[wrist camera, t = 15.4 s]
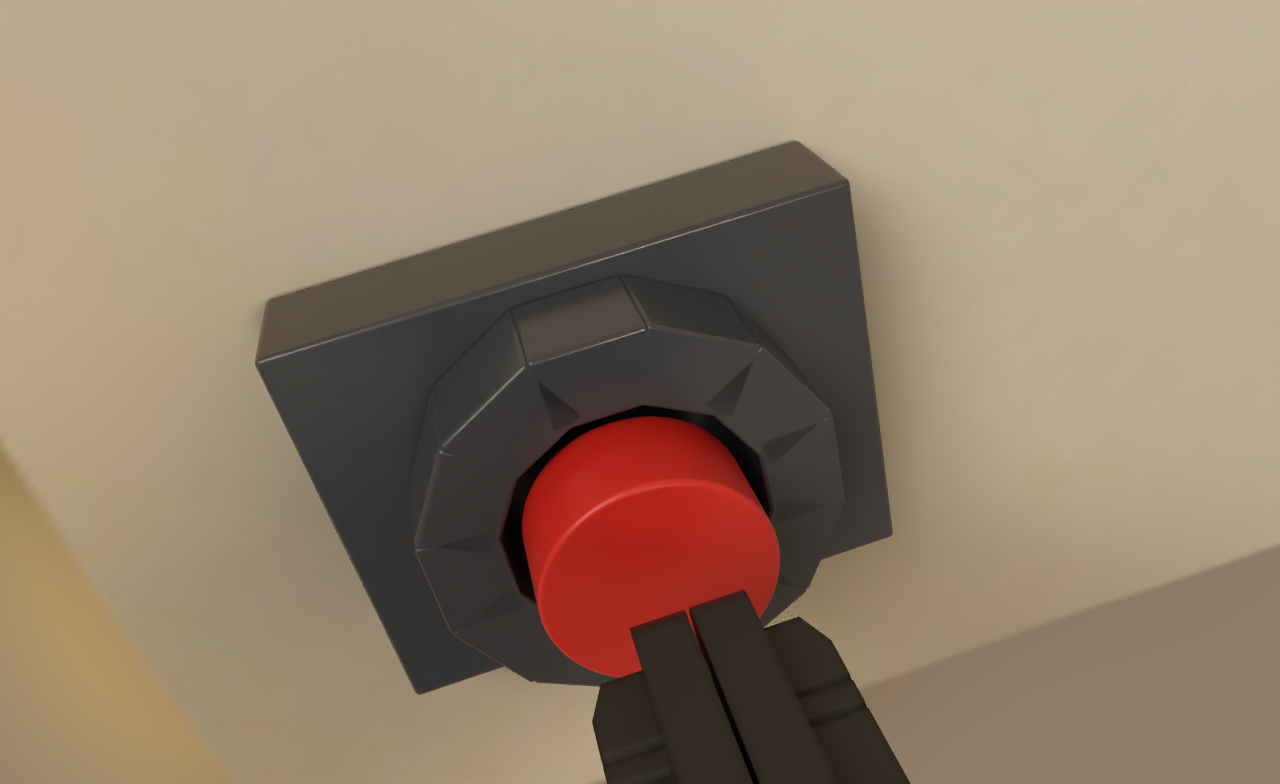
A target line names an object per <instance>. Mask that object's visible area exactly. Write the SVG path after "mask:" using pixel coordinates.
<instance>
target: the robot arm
mask: <svg viewBox="0 0 1280 784" xmlns="http://www.w3.org/2000/svg"><path fill="white" fill-rule="evenodd" d="M689 613H690V617H691V621H692V625H693V629H694V632H695V634H694V632H693V629H692V627H691V624H690V621H689V619H688V616H687V614H686V612H685V610H682V611H679V612H676V613H673V614H670V615H667V616H664V617H661V618H658V619H655V620H652V621H649V622H646V623H643V624H640V625H637V626H634V627H631V628H629V629H630V633H631V636H632V639H633V642H634V645H635V649H636V652H637V655H638V658H639V661H640V664H641V668H642V670H641V671H638V672H635V673H632V674H629V675H626V676H623V677H620V678H617V679H614V680H611V681H608V682H605V683H602V684H601V686H600V690H599V695H598V699H597V703H596V708H595V712H594V716H593V721H592V723H593V728H594V732H595V736H596V740H597V744H598V748H599V752H600V756H601V760H602V763H603V769H604V773H605V777H606V781H607V784H910V782H909V780H908V779H907V777H906V775H905V773H904V771H903V769H902V768H901V766H900V764H899V762H898V761H897V759H896V757H895V755H894V753H893V751H892V750H891V748H890V746H889V744H888V742H887V740H886V739H885V737H884V735H883V734H882V732H881V730H880V728H879V726H878V724H877V723H876V721H875V719H874V717H873V715H872V713H871V712H870V710H869V708H867V706H866V704H865V701H864V699H863V697H862V695H861V693H860V692H859V690H858V688H857V686H856V684H855V683H854V681H853V680H852V679H851V677H850V673H849V672H848V670H847V668H846V666H845V664H844V663H843V661H842V659H841V657H840V655H839V654H838V652H837V650H836V648H835V646H834V645H833V643H832V641H831V640H830V639H829V638H827V637H826V636H825V635H823V634H822V633H821V632H819V631H818V630H816V629H815V628H814V627H812V626H811V625H810V624H808V623H807V622H806V621H804V620H803V619H802V618H800V617H797V618H794V619H791V620H788V621H785V622H782V623H779V624H776V625H773V626H770V627H767V628H764V627H763V625H762V623H761V621H760V619H759V617H758V615H757V613H756V611H755V609H754V607H753V605H752V602H751V600H750V598H749V596H748V595H747V593H746V591H745V590H744V589H743V590H740V591H737V592H734V593H731V594H729V595H726V596H723V597H720V598H717V599H714V600H711V601H708V602H705V603H702V604H699V605H696V606H693V607H690V608H689ZM695 636H696V637H695Z"/></svg>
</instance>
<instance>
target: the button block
mask: <svg viewBox="0 0 1280 784" xmlns="http://www.w3.org/2000/svg"><path fill="white" fill-rule="evenodd" d="M255 366H256V368H257V370H258V372H259V374H260V376H261V378H262V380H263V382H264V384H265V386H266V388H267V390H268V392H269V394H270V396H271V398H272V400H273V402H274V404H275V406H276V409H277V411H278V413H279V415H280V417H281V419H282V421H283V423H284V425H285V427H286V429H287V431H288V433H289V435H290V437H291V439H292V441H293V443H294V445H295V447H296V449H297V451H298V454H299V456H300V458H301V460H302V462H303V464H304V466H305V468H306V470H307V472H308V474H309V476H310V478H311V480H312V482H313V484H314V486H315V488H316V490H317V492H318V494H319V496H320V498H321V501H322V503H323V505H324V507H325V509H326V511H327V513H328V515H329V517H330V519H331V521H332V523H333V525H334V527H335V529H336V531H337V533H338V535H339V537H340V539H341V541H342V543H343V545H344V548H345V550H346V552H347V554H348V556H349V558H350V560H351V562H352V564H353V566H354V568H355V570H356V572H357V574H358V576H359V578H360V580H361V582H362V584H363V586H364V588H365V590H366V593H367V595H368V597H369V599H370V601H371V603H372V605H373V607H374V609H375V611H376V613H377V615H378V617H379V619H380V621H381V623H382V625H383V627H384V629H385V631H386V633H387V635H388V637H389V640H390V642H391V644H392V646H393V648H394V650H395V652H396V654H397V656H398V658H399V660H400V662H401V664H402V666H403V668H404V670H405V672H406V674H407V676H408V678H409V680H410V682H411V685H412V687H413V689H414V691H415V692H416V693H417V694H424V693H427V692H430V691H433V690H436V689H439V688H442V687H445V686H448V685H451V684H454V683H456V682H459V681H462V680H465V679H468V678H471V677H474V676H477V675H480V674H483V673H486V672H489V671H492V670H495V669H498V668H501V667H504V666H505V667H507V668H508V669H510V670H512V671H513V672H515V673H517V674H518V675H520V676H522V677H523V678H525V679H527V680H528V681H530V682H532V681H535V682H537V683H553V684H569V685H585V686H601V684H602V683H605V682H608V681H611V680H614V679H617V678H618V677H612V676H607V675H603V674H599V673H597V672H594V671H591V670H589V669H586V668H585V667H583V666H581V665H579V664H577V663H575V662H574V661H573V660H571V659H570V658H569V657H567V656H566V655H565V654H564V653H563V652H562V651H561V650H560V649H559V648H558V647H557V646H556V645H555V644H554V643H553V642H552V640H551V639H550V637H549V636H548V635H547V633H546V631H545V629H544V626H543V624H542V622H541V618H540V615H539V611H538V607H537V602H536V598H535V593H534V588H533V584H532V579H531V574H530V570H529V565H528V560H527V556H526V551H525V547H524V542H523V534H522V516H523V511H524V506H525V502H526V499H527V497H528V494H529V491H530V489H531V487H532V485H533V484H534V482H535V480H536V478H537V476H538V475H539V473H540V472H541V471H542V469H543V468H544V466H545V465H546V464H547V463H548V462H549V461H550V460H551V458H552V457H553V456H554V455H555V454H556V453H557V452H558V451H560V450H561V449H562V448H563V447H564V446H566V445H567V444H568V443H570V442H571V441H573V440H574V439H576V438H577V437H579V436H580V435H582V434H584V433H586V432H588V431H590V430H592V429H594V428H596V427H599V426H601V425H604V424H606V423H609V422H613V421H617V420H621V419H625V418H632V417H642V416H657V417H668V418H673V419H677V420H682V421H685V422H688V423H690V424H693V425H696V426H698V427H700V428H702V429H704V430H706V431H707V432H709V433H711V434H712V435H713V436H715V437H716V438H717V439H719V440H720V441H721V442H722V443H723V444H724V445H725V446H726V447H727V448H728V449H729V451H730V452H731V454H732V455H733V456H734V458H735V459H736V461H737V463H738V465H739V467H740V468H741V470H742V472H743V474H744V475H745V477H746V479H747V481H748V482H749V484H750V486H751V488H752V489H753V491H754V493H755V495H756V497H757V498H758V500H759V502H760V504H761V505H762V507H763V509H764V511H765V512H766V514H767V516H768V518H769V520H770V521H771V524H772V526H773V528H774V530H775V532H776V535H777V539H778V542H779V549H780V570H779V576H778V581H777V585H776V588H775V591H774V594H773V596H772V598H771V600H770V602H769V604H768V606H767V608H766V610H765V611H764V613H763V614H762V616H761V617H760V621H761V623H762V625H763V627H765V626H766V625H767V624H768V623H770V622H771V621H772V620H773V619H774V618H775V617H777V616H778V615H779V614H780V613H781V612H782V611H784V610H785V609H786V608H787V607H788V606H789V605H791V604H792V603H793V602H794V601H795V600H796V599H798V598H799V597H800V596H801V595H802V594H803V593H805V591H806V589H807V588H808V587H809V585H810V583H811V581H812V578H813V576H814V574H815V572H816V569H817V567H818V565H819V563H820V561H821V560H822V559H825V558H828V557H831V556H833V555H836V554H839V553H842V552H845V551H848V550H851V549H854V548H857V547H860V546H863V545H866V544H869V543H872V542H875V541H878V540H881V539H884V538H887V537H890V536H891V535H892V533H893V532H892V523H891V515H890V507H889V499H888V491H887V483H886V475H885V467H884V458H883V450H882V442H881V434H880V426H879V418H878V410H877V402H876V394H875V386H874V378H873V370H872V361H871V353H870V345H869V337H868V329H867V321H866V313H865V305H864V297H863V289H862V281H861V273H860V264H859V256H858V248H857V240H856V232H855V224H854V216H853V208H852V200H851V192H850V184H849V181H848V180H847V179H846V178H845V177H844V176H843V175H841V174H840V173H839V172H837V171H836V170H835V169H834V168H832V167H831V166H830V165H829V164H827V163H826V162H825V161H823V160H822V159H821V158H820V157H818V156H817V155H816V154H814V153H813V152H812V151H811V150H809V149H808V148H807V147H805V146H804V145H803V144H802V143H800V142H798V141H794V142H791V143H787V144H784V145H781V146H778V147H774V148H771V149H768V150H764V151H761V152H758V153H754V154H751V155H748V156H744V157H741V158H738V159H735V160H731V161H728V162H725V163H721V164H718V165H715V166H711V167H708V168H705V169H701V170H698V171H695V172H692V173H688V174H685V175H682V176H678V177H675V178H672V179H668V180H665V181H662V182H658V183H655V184H652V185H648V186H645V187H642V188H639V189H635V190H632V191H629V192H625V193H622V194H619V195H615V196H612V197H609V198H605V199H602V200H599V201H596V202H592V203H589V204H586V205H582V206H579V207H576V208H572V209H569V210H566V211H562V212H559V213H556V214H553V215H549V216H546V217H543V218H539V219H536V220H533V221H529V222H526V223H523V224H519V225H516V226H513V227H510V228H506V229H503V230H500V231H496V232H493V233H490V234H486V235H483V236H480V237H476V238H473V239H470V240H466V241H463V242H460V243H457V244H453V245H450V246H447V247H443V248H440V249H437V250H433V251H430V252H427V253H423V254H420V255H417V256H414V257H410V258H407V259H404V260H400V261H397V262H394V263H390V264H387V265H384V266H380V267H377V268H374V269H371V270H367V271H364V272H361V273H357V274H354V275H351V276H347V277H344V278H341V279H337V280H334V281H331V282H328V283H324V284H321V285H318V286H314V287H311V288H308V289H304V290H301V291H298V292H294V293H291V294H288V295H284V296H281V297H278V298H275V299H271V300H269V301H268V302H267V303H266V308H265V313H264V318H263V323H262V328H261V333H260V338H259V343H258V348H257V354H256V359H255Z"/></svg>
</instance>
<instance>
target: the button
mask: <svg viewBox="0 0 1280 784" xmlns="http://www.w3.org/2000/svg"><path fill="white" fill-rule="evenodd" d="M522 534H523V542H524V547H525V551H526V556H527V560H528V565H529V570H530V574H531V579H532V584H533V588H534V593H535V598H536V602H537V607H538V611H539V615H540V618H541V622H542V624H543V626H544V629H545V631H546V633H547V635H548V636H549V637H550V639H551V640H552V642H553V643H554V644H555V645H556V646H557V647H558V648H559V649H560V650H561V651H562V652H563V653H564V654H565V655H566V656H567V657H569V658H570V659H571V660H573V661H574V662H575V663H577V664H579V665H581V666H583V667H585V668H586V669H589V670H591V671H594V672H597V673H599V674H603V675H607V676H612V677H618V678H620V677H623V676H626V675H629V674H632V673H635V672H638V671H641V670H642V668H641V664H640V661H639V658H638V655H637V652H636V649H635V645H634V642H633V639H632V636H631V633H630V629H629V628H631V627H634V626H637V625H640V624H643V623H646V622H649V621H652V620H655V619H658V618H661V617H664V616H667V615H670V614H673V613H676V612H679V611H682V610H685V612H686V614H687V616H688V619H689V621H690V624H691V627H692V629H693V625H692V621H691V617H690V613H689V608H690V607H693V606H696V605H699V604H702V603H705V602H708V601H711V600H714V599H717V598H720V597H723V596H726V595H729V594H731V593H734V592H737V591H740V590H743V589H744V590H745V591H746V593H747V595H748V596H749V598H750V600H751V602H752V605H753V607H754V609H755V611H756V613H757V615H758V617H759V619H760V617H761V616H762V614H763V613H764V611H765V610H766V608H767V606H768V604H769V602H770V600H771V598H772V596H773V594H774V591H775V588H776V585H777V581H778V576H779V570H780V549H779V542H778V539H777V535H776V532H775V530H774V528H773V526H772V524H771V521H770V520H769V518H768V516H767V514H766V512H765V511H764V509H763V507H762V505H761V504H760V502H759V500H758V498H757V497H756V495H755V493H754V491H753V489H752V488H751V486H750V484H749V482H748V481H747V479H746V477H745V475H744V474H743V472H742V470H741V468H740V467H739V465H738V463H737V461H736V459H735V458H734V456H733V455H732V454H731V452H730V451H729V449H728V448H727V447H726V446H725V445H724V444H723V443H722V442H721V441H720V440H719V439H717V438H716V437H715V436H713V435H712V434H711V433H709V432H707V431H706V430H704V429H702V428H700V427H698V426H696V425H693V424H690V423H688V422H685V421H682V420H677V419H673V418H668V417H657V416H642V417H632V418H625V419H621V420H617V421H613V422H609V423H606V424H604V425H601V426H599V427H596V428H594V429H592V430H590V431H588V432H586V433H584V434H582V435H580V436H579V437H577V438H576V439H574V440H573V441H571V442H570V443H568V444H567V445H566V446H564V447H563V448H562V449H561V450H560V451H558V452H557V453H556V454H555V455H554V456H553V457H552V458H551V460H550V461H549V462H548V463H547V464H546V465H545V466H544V468H543V469H542V471H541V472H540V473H539V475H538V476H537V478H536V480H535V482H534V484H533V485H532V487H531V489H530V491H529V494H528V497H527V499H526V502H525V506H524V511H523V516H522ZM693 632H694V629H693ZM694 634H695V632H694ZM695 637H696V636H695Z"/></svg>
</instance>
